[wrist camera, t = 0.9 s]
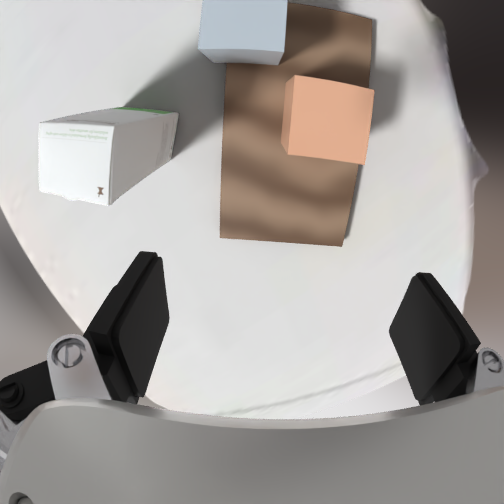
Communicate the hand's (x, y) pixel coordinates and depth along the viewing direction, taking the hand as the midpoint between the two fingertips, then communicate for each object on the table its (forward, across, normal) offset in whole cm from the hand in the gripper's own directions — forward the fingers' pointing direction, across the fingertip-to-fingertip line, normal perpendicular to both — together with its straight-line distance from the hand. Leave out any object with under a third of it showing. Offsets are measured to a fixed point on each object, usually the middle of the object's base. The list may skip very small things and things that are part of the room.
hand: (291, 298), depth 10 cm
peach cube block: (+24, -4, -6) cm, 25 cm away
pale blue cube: (+24, +4, -15) cm, 28 cm away
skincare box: (+26, +16, -3) cm, 30 cm away
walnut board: (+25, -2, -5) cm, 26 cm away
